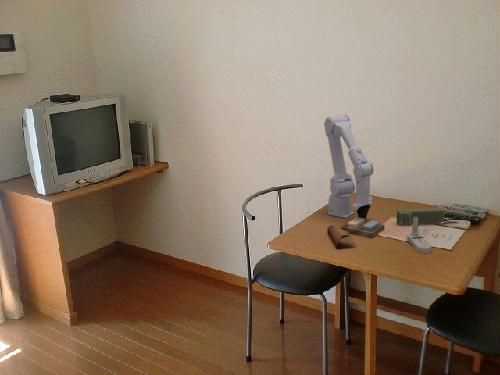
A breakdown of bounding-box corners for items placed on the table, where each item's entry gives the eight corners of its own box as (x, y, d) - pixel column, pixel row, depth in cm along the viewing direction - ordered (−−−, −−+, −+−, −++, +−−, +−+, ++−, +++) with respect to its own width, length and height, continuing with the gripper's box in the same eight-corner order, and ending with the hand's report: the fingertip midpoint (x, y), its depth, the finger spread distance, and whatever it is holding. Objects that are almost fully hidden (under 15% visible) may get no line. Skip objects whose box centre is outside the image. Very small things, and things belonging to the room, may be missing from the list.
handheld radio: (396, 223, 230) (455, 221, 229) (397, 226, 227) (458, 224, 226) (396, 208, 228) (457, 206, 227) (398, 211, 224) (459, 209, 223)
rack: (340, 231, 223) (340, 226, 223) (353, 223, 231) (353, 218, 231) (372, 238, 215) (372, 233, 214) (384, 229, 223) (384, 224, 222)
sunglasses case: (359, 247, 206) (350, 234, 204) (343, 257, 207) (334, 244, 205) (347, 230, 223) (339, 218, 222) (332, 240, 224) (324, 227, 222)
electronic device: (420, 230, 196) (406, 215, 210) (418, 255, 199) (405, 238, 213) (435, 229, 196) (420, 214, 210) (433, 254, 199) (418, 237, 214)
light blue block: (370, 235, 218) (370, 227, 217) (362, 233, 221) (362, 225, 220) (379, 229, 224) (380, 221, 223) (372, 227, 226) (372, 220, 225)
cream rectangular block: (355, 232, 222) (355, 224, 221) (347, 230, 224) (347, 222, 223) (364, 226, 228) (364, 218, 227) (356, 224, 230) (356, 217, 229)
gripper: (363, 197, 218) (363, 228, 222) (379, 187, 229) (378, 218, 233) (347, 194, 222) (347, 225, 226) (364, 185, 233) (363, 215, 237)
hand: (362, 221), depth 230 cm, fingers closed
